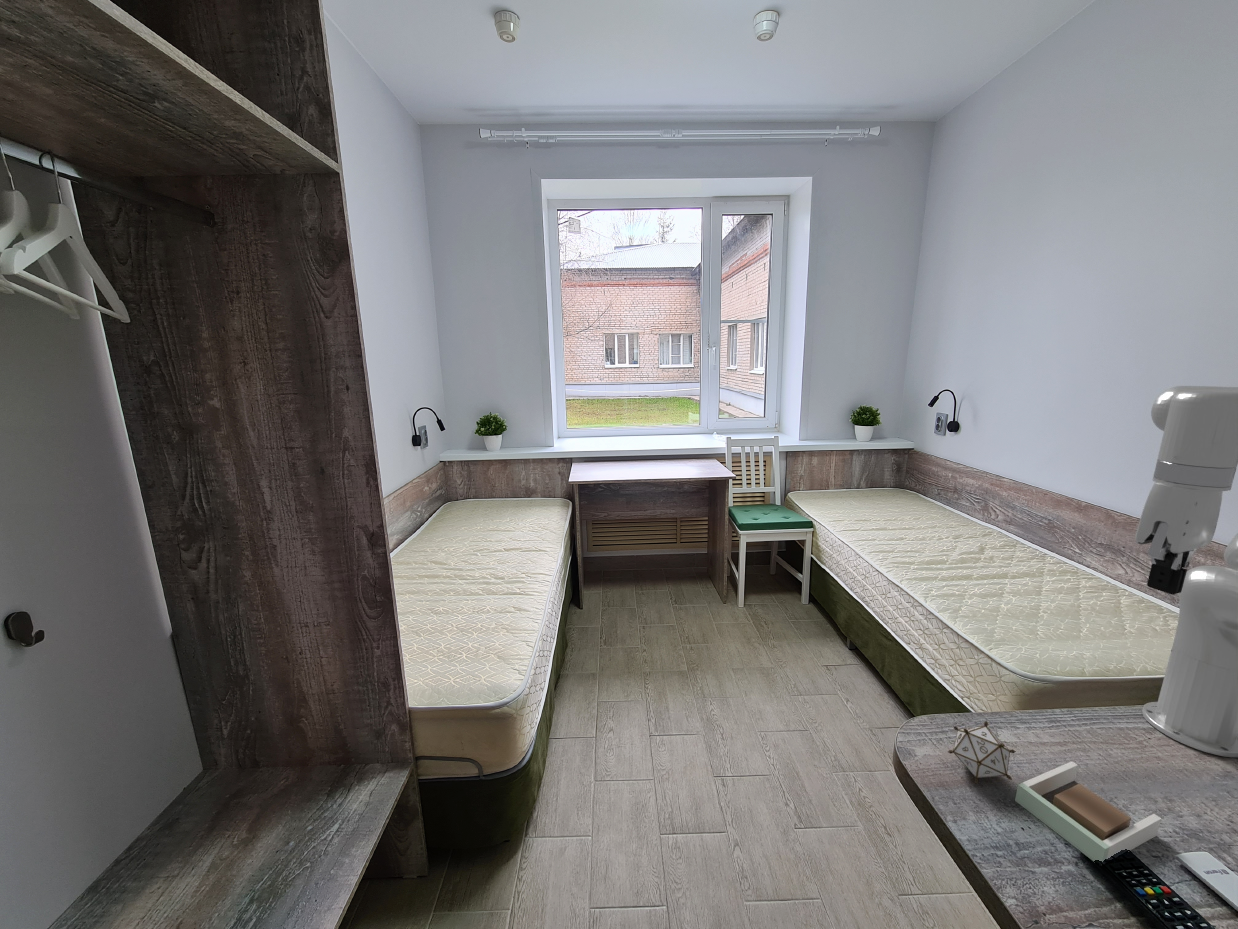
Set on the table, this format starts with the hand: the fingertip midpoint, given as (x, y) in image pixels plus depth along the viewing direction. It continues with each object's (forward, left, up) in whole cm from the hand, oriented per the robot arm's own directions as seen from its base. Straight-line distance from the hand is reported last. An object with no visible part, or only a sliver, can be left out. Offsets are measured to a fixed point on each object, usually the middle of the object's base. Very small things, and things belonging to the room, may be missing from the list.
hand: (1163, 589), depth 74 cm
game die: (+24, -7, -32) cm, 41 cm away
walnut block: (+19, +5, -32) cm, 38 cm away
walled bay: (+17, +4, -32) cm, 37 cm away
